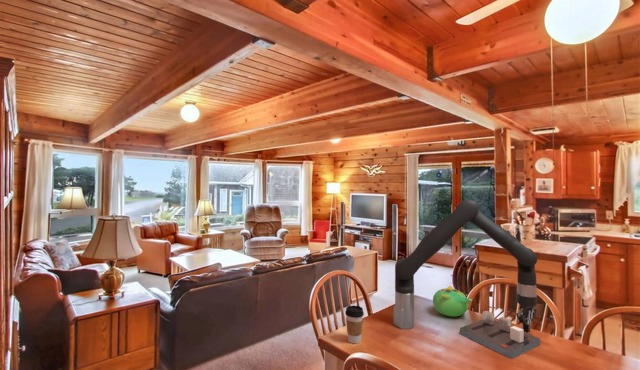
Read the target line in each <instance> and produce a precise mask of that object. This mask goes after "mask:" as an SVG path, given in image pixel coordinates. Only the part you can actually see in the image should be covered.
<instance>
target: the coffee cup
mask: <svg viewBox="0 0 640 370" xmlns="http://www.w3.org/2000/svg"><path fill="white" fill-rule="evenodd" d="M344 314H345V316H346V317H345V320H346V322H345V323H346V331H347V332H346V333H347V341H348V342H349V343H350V342H351V343H350V344H352V343H358V344H360V343H361V342H362V333H363V323H364V315H365V313H364V309H363V307H361V306H359V305H349V306H347V307H346V308H345V313H344ZM359 342H360V343H359Z"/></svg>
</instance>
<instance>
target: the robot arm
mask: <svg viewBox="0 0 640 370" xmlns="http://www.w3.org/2000/svg"><path fill="white" fill-rule="evenodd" d="M469 222H470V223H471V224H473V225H475V226H476V227H477V228H479V230H481V231H482V232H484V234H485V235H487V236H488V237H489V238H490V239H492V240H493V241H494V242H495V243H497V244H498V246H501V247H502V249H504V250H505V251H506V252H508V253H509V254H510V255H511V256H512V257H513V258H514V259H516V262H517V263H516V264H517V284H516V302H517V304H518V305H519V311H518V312H516V314H515V315H516V317H517V319H518V321H519V322H520V324H521V323H522V329H523V330H524V332H525V333H528V334H530V333H531V324H532V322H533V321H534V319H535V316H536V314H537V311H538V310H537V309H535V308H534V307H536V306H538V291H537V290H538V288H537V274H536V265H537V263H538V256H537V254H536V253H535V251H533V250H532V249H531V248H529V247H527V246H526V245H524V244H523V243H522V242H520V240H519V239H518V238H517V237H516V236H514V235H513V234H512V233H510V232H509V231H507V230H506V229H505V228H503V227H502V226H500V225H499V224H498V223H496V222H494V221H492V220H491V219H490V218H488V217H487V216H486V215H485V214H484V213H483V212H482V211H481V210H480V207H479V204H478V203H477V202H476V201H475V200H472V199H464V200H461V201H460V202H459V203H458V204H457V206H456V208H455V209H454V210H453V211H452V212H451V213H450V214H449V216H448V217H446V218H445V219H444V220H443V221H441V222H440V223H438V224H437V225H436V226H434V227H433V228H432V229H431V230H430V231H428V233H426V235H425V236H424V237H423V238H422V239H421V240H420V242H419V243H418V245H417V247H416V248H415V249H414V251H412V253H410V254H409V255H408V256H407V257H400V258H399V259H398V260H396V262H395V264H394V289H395V290H394V292H395V294H394V305H393V326H396V327H398V328H399V329H401V330H410V329H413V328H414V327H415V282H414V281H415V280H414V278H415V276H414V275H415V274H416V273H417V272H418V271H419V269H420V268H422V267H423V265H424V264H425V263H427V262H428V260H430V259H431V258H432V257H434V255H436V254H437V253H438V252H440V250H441V249H442V248H443V247H445V245H447V243H449V242H450V241H451V239H452V238H454V236H455V235H456V234H457V232H459V230H461V228H462V227H464V226H465V225H466V224H467V223H469Z"/></svg>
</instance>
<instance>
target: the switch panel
mask: <svg viewBox="0 0 640 370" xmlns="http://www.w3.org/2000/svg"><path fill="white" fill-rule="evenodd" d="M510 327H512V319H509V318H507V317H504V316H501V317H498V320H495V313H494V312H491V311H489V310H484V311H482V319H481V320H478V321H474V322H473V323H470V324H465V326H462V327H461V326H460V327H459V335H461V336H463V337H465V338H467V339H469V340H471V341H473V342H476V343H478V344H479V345H482V346H483V347H486V348H488V349H490V350H492V351H494V352H497V353H499V354H500V355H503V356H505V357H507V358H508V359H511V360H513V359H515V358H517V357H519V356H521V355H523V354H525V353H527V352H529V351H530V350H531V351H532V350H533V349H536V348H537V347H540V345H541V338H540V337H539V336H535V335H532V334H530V333H526V332H524V341H523V342H521V343H519V342H516V341H514V340H512V339H510Z"/></svg>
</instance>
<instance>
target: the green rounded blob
mask: <svg viewBox="0 0 640 370" xmlns="http://www.w3.org/2000/svg"><path fill="white" fill-rule="evenodd" d="M471 302H473V299H472V298H468V297H467V296H466V295H465V294H464V293H463V292H462V291H460V290H458V289H455V288H453V286H451V285H449V286H448V287H446V288H441V289H439V290H437V291H436V292H435V293H434V295H433V297H432V304H433V306H434V309H435V310H436V311H437V312H438V313H440V314H441V315H443V316H447V317H460V316H462V315H464V314H465V313H466V312H467V311H468V309H469V305H470V304H469V303H471Z"/></svg>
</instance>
